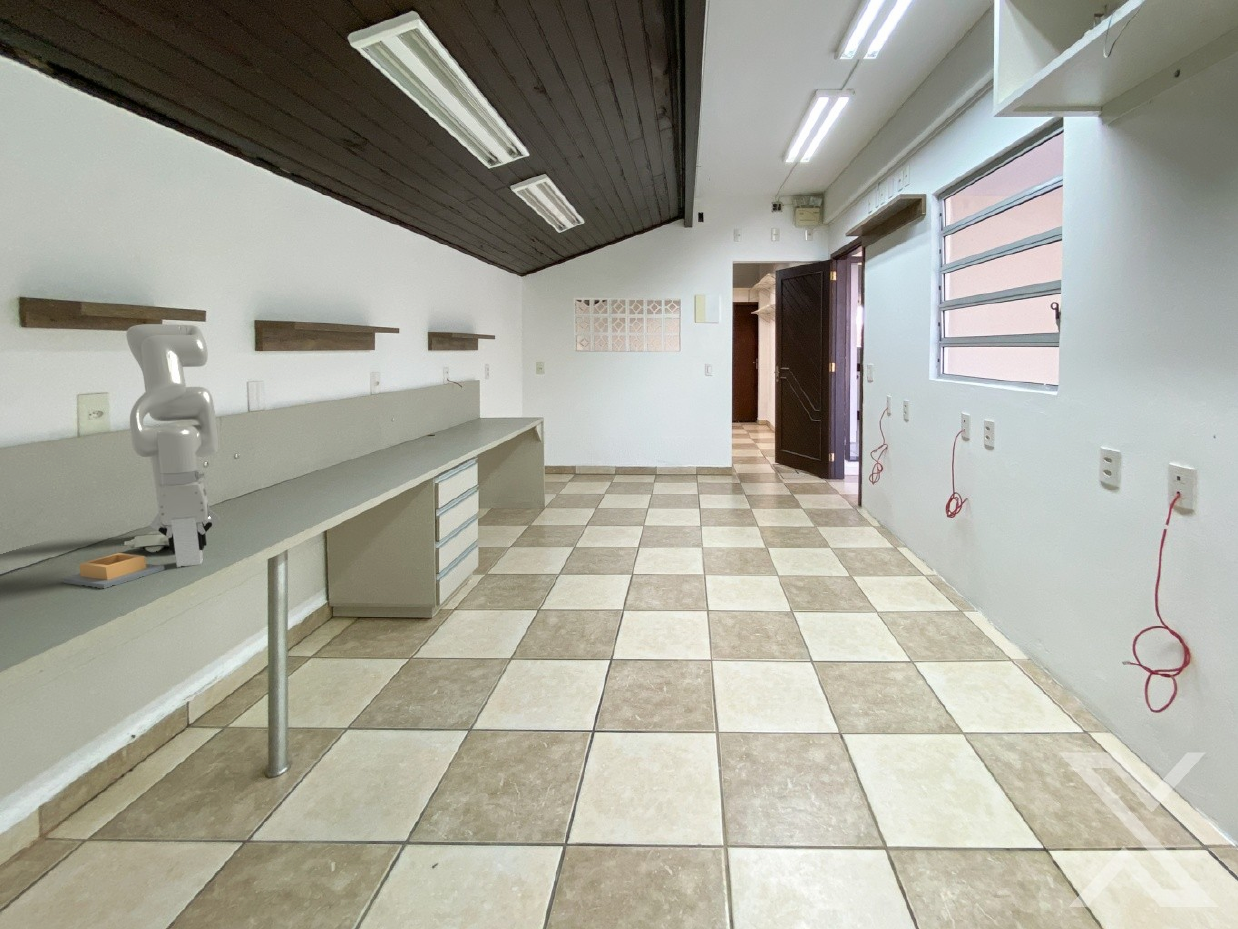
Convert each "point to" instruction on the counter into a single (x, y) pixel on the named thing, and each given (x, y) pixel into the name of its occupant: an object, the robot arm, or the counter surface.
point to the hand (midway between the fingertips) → (188, 549)
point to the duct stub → (186, 542)
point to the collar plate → (112, 570)
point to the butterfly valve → (149, 542)
